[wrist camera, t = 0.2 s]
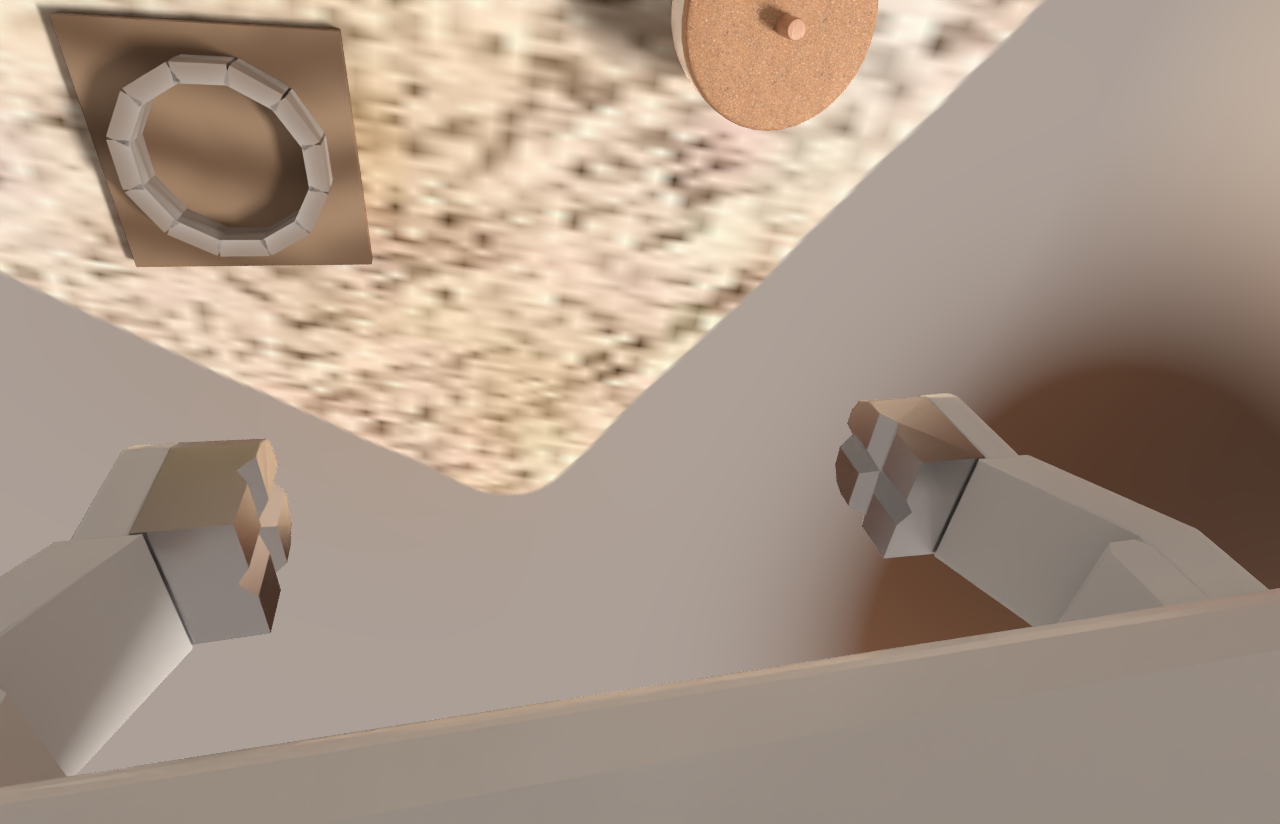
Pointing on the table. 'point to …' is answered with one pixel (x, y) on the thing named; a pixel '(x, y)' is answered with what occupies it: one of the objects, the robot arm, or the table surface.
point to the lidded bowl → (771, 55)
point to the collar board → (221, 139)
